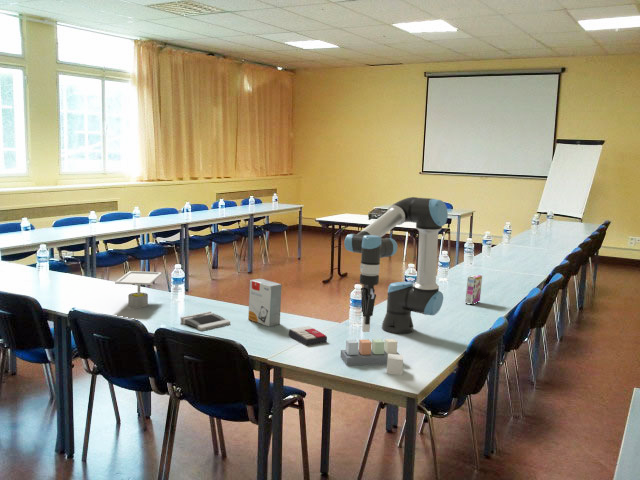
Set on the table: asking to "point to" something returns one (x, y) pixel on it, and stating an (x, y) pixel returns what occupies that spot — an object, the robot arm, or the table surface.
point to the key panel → (364, 358)
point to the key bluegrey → (351, 347)
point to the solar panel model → (138, 279)
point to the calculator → (307, 335)
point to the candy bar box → (473, 289)
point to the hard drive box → (264, 302)
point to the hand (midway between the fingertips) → (365, 331)
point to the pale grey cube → (395, 364)
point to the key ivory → (390, 346)
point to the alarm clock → (205, 321)
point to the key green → (378, 346)
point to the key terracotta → (365, 347)
